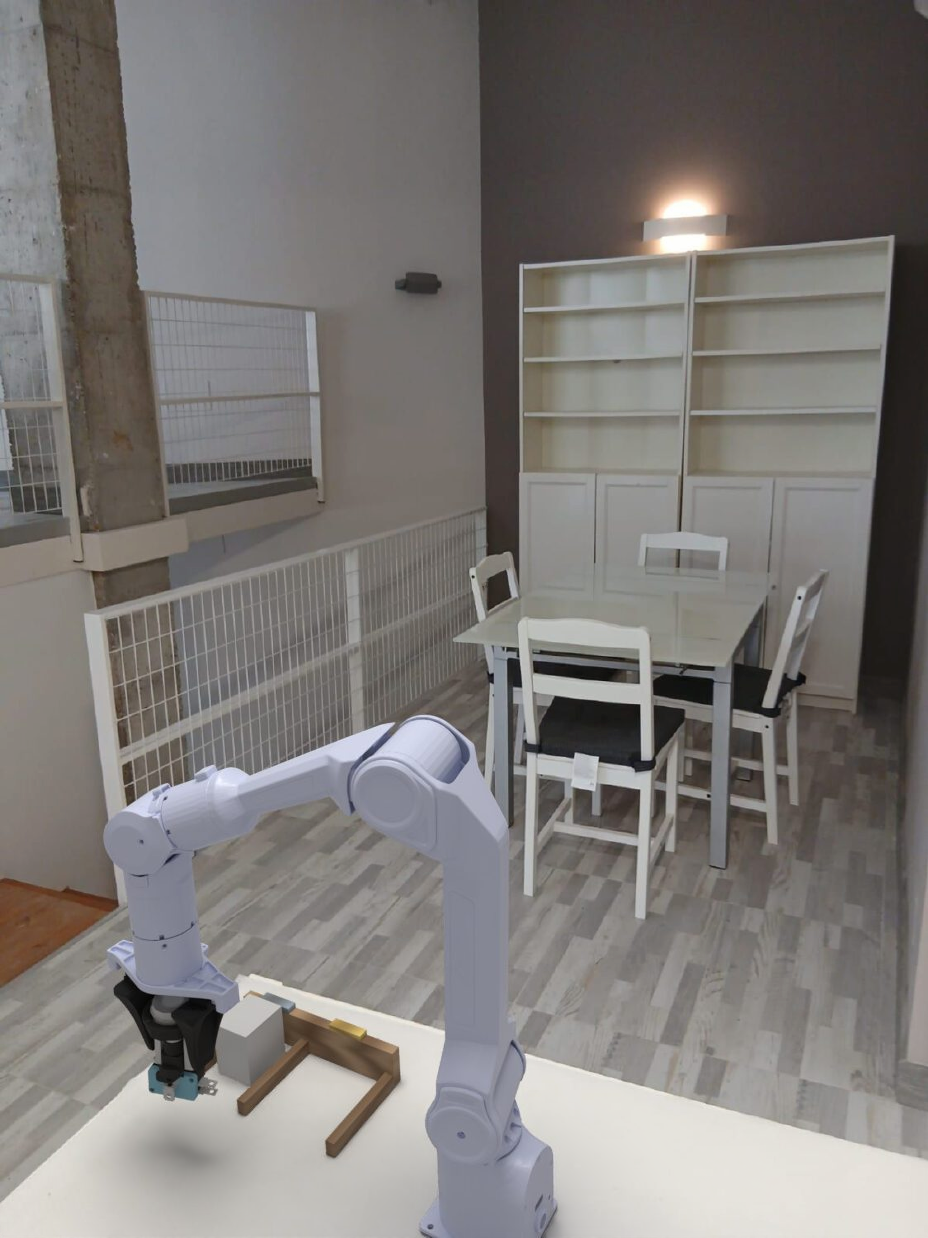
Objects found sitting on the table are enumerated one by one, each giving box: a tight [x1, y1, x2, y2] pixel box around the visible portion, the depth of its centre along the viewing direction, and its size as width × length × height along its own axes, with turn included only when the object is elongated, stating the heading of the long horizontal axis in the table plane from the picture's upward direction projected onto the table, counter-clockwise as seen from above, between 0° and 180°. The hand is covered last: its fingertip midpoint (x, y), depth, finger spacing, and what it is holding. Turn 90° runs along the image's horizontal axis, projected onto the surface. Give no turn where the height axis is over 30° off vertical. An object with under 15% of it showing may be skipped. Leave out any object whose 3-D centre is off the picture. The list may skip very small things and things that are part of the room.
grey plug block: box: [216, 994, 287, 1087], centre depth 98 cm, size 4×6×6 cm
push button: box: [142, 995, 219, 1102], centre depth 85 cm, size 7×5×10 cm
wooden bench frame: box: [205, 990, 402, 1158], centre depth 95 cm, size 20×11×5 cm, turn 61°
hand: (180, 1053), depth 85 cm, fingers closed on push button, 5 cm apart
